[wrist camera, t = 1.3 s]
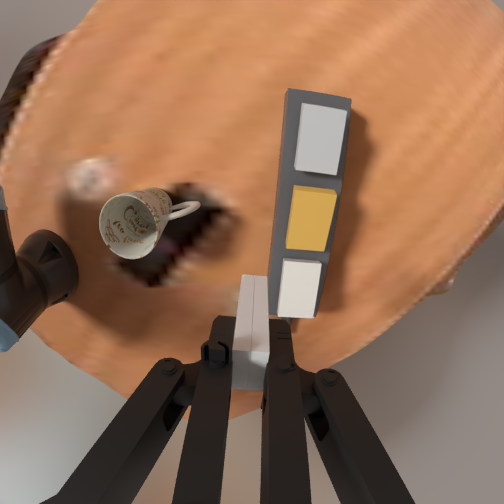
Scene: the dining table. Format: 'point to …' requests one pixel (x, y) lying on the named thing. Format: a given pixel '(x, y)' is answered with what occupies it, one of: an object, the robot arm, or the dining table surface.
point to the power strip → (301, 178)
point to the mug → (138, 220)
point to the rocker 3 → (298, 288)
